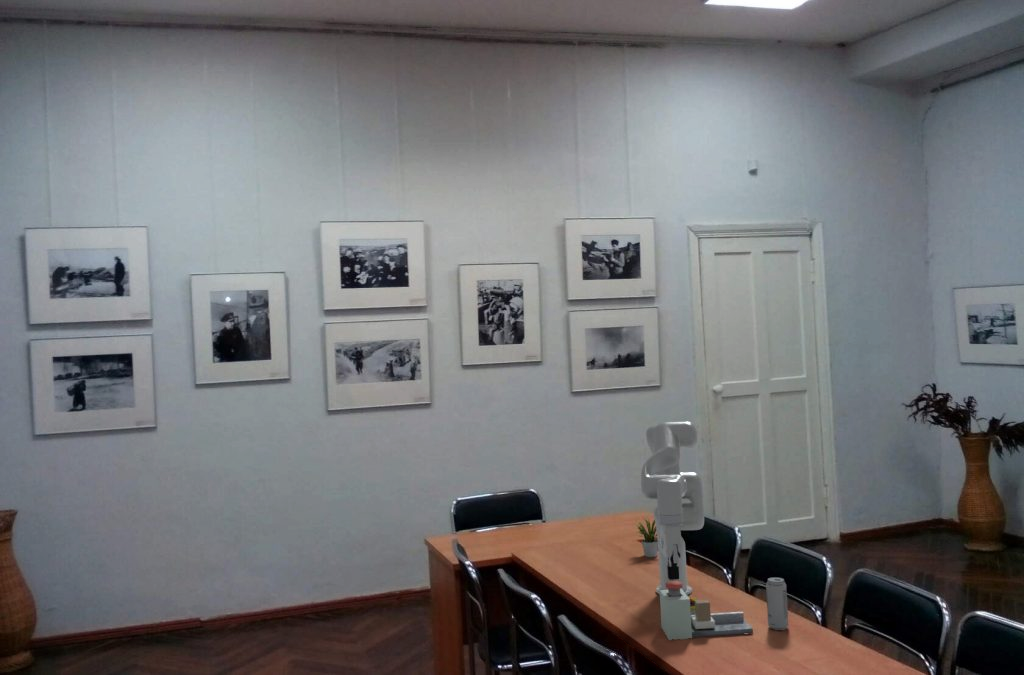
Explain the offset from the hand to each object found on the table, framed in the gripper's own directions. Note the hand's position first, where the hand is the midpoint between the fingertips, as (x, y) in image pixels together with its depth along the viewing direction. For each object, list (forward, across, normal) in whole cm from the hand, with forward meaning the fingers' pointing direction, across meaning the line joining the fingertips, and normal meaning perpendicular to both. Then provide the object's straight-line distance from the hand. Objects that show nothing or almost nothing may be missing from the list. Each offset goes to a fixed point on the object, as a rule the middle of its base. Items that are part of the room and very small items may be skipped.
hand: (673, 578), depth 268 cm
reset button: (+8, -1, 0) cm, 8 cm away
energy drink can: (+17, 0, +32) cm, 36 cm away
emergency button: (+17, -21, +8) cm, 29 cm away
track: (+17, -1, +13) cm, 21 cm away
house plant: (+16, -95, +12) cm, 97 cm away
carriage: (+15, -1, +9) cm, 18 cm away
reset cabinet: (+17, -1, 0) cm, 17 cm away
